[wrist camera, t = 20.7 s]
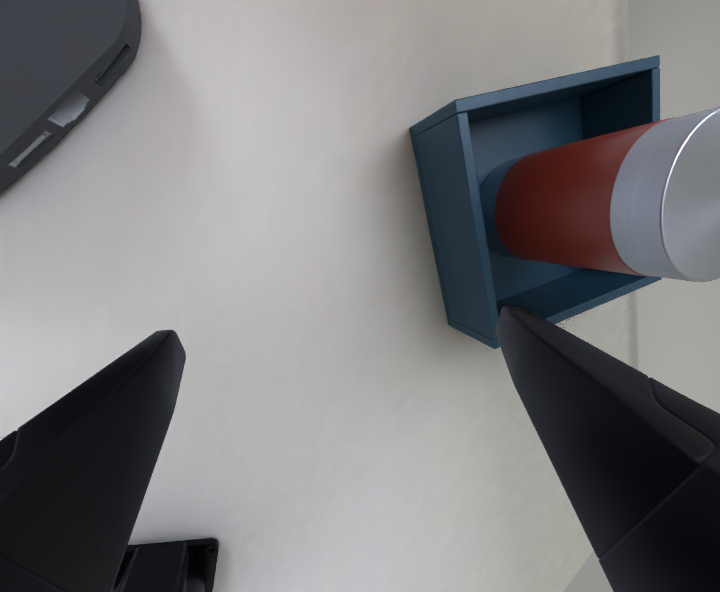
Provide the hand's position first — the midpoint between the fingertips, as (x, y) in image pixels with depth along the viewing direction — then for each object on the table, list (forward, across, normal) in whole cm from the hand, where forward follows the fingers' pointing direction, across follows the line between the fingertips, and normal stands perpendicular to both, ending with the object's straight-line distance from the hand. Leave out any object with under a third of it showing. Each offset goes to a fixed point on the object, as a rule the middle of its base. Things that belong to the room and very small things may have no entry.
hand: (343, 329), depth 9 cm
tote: (+15, -12, +3) cm, 20 cm away
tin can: (+14, -12, +3) cm, 19 cm away
